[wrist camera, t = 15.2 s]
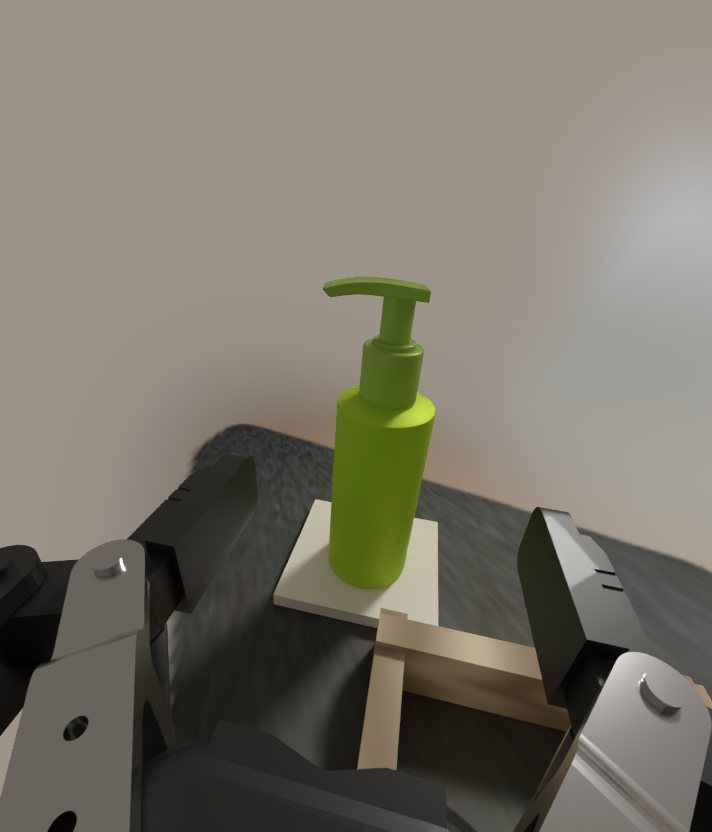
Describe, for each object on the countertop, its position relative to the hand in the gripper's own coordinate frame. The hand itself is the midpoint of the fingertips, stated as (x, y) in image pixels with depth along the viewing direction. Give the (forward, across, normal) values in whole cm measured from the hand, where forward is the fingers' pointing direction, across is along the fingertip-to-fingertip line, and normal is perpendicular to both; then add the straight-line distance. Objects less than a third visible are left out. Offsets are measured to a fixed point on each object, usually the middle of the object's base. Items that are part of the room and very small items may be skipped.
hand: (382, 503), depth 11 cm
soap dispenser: (+12, +2, +16) cm, 20 cm away
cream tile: (+12, +1, +17) cm, 20 cm away
